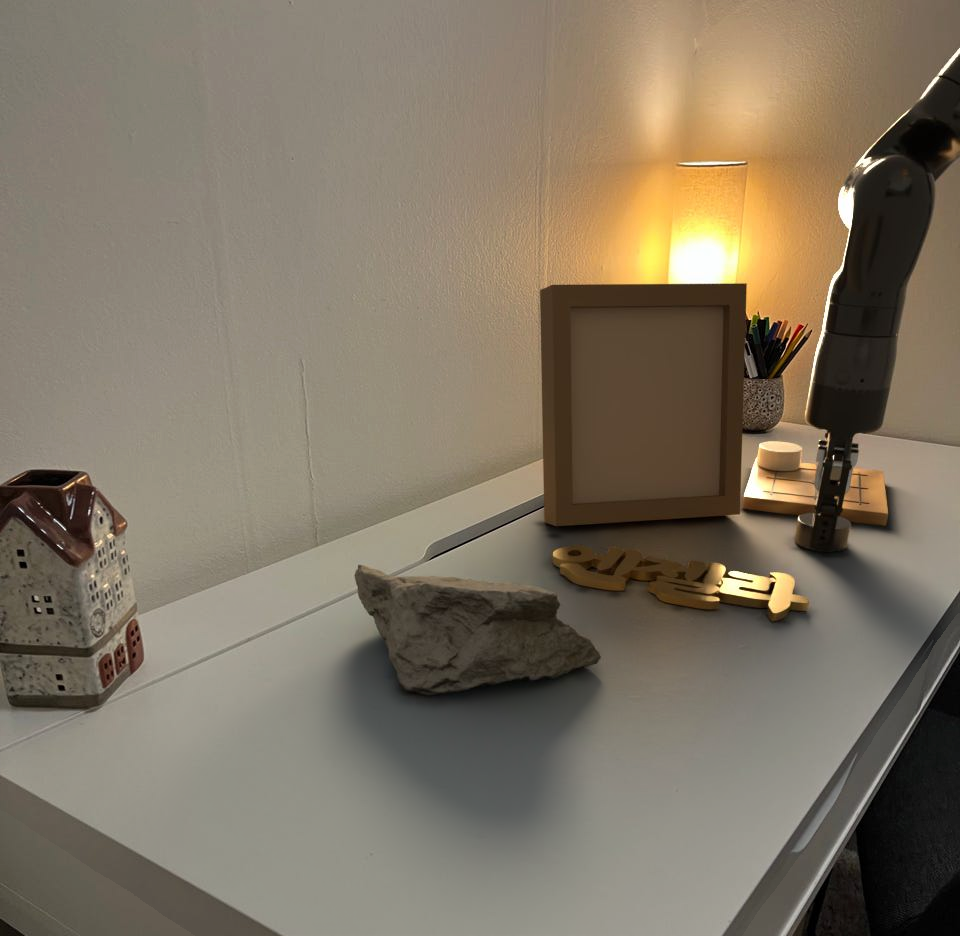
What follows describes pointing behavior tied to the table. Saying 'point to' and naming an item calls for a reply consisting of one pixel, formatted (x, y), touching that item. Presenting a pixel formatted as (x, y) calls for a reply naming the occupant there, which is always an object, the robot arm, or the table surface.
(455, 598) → the fossil stone
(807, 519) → the black stone
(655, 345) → the photo frame
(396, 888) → the table surface
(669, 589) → the lettering
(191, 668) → the table surface
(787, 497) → the game board
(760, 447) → the white stone
